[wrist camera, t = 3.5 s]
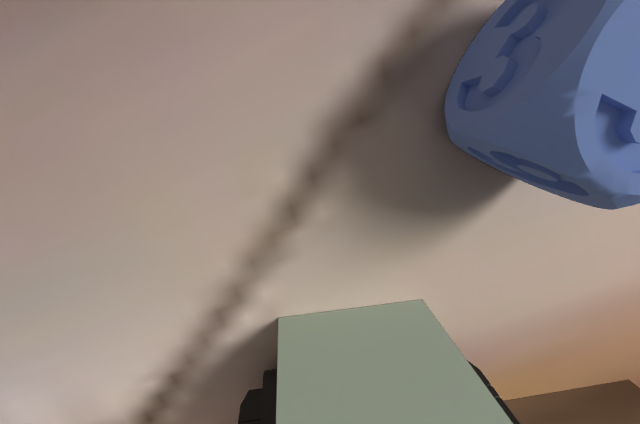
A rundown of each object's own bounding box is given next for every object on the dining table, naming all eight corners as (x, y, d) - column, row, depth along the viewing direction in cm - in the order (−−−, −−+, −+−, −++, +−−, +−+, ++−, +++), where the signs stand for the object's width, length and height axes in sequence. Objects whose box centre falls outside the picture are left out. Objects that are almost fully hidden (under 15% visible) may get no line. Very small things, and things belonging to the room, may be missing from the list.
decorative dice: (606, 62, 9) (842, 28, 5) (522, 185, 10) (670, 232, 6) (501, -17, 8) (697, -129, 4) (420, 128, 9) (520, 142, 5)
